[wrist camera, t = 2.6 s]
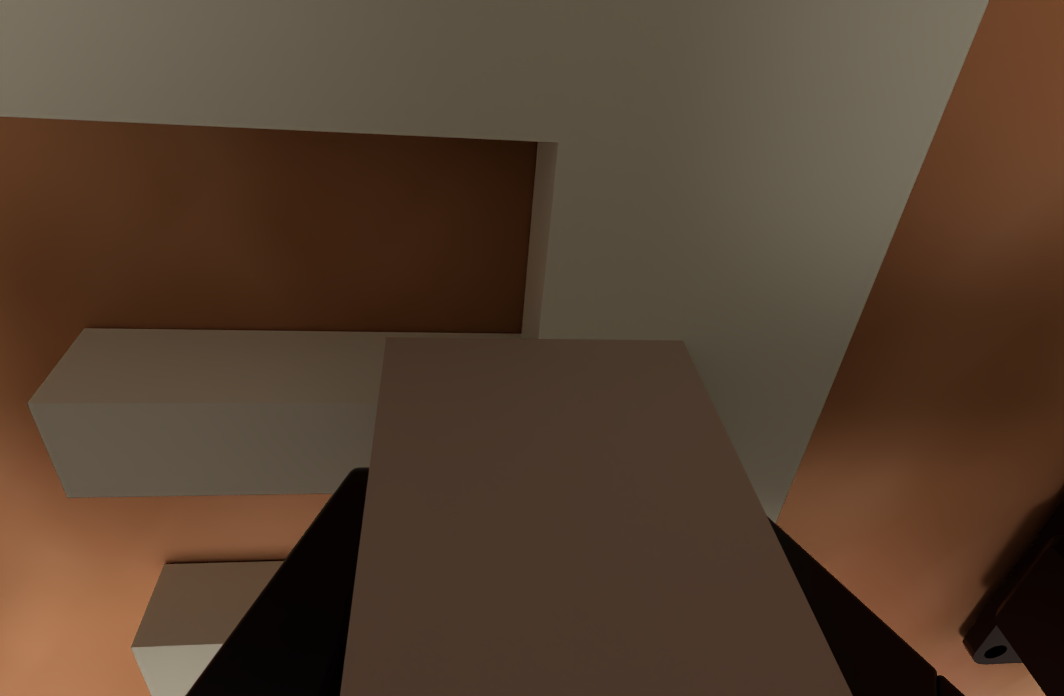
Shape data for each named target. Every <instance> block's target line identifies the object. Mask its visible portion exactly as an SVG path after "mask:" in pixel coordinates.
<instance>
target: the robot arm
mask: <svg viewBox="0 0 1064 696" xmlns="http://www.w3.org/2000/svg"><path fill="white" fill-rule="evenodd" d="M368 475H369V467H357V468H354V469H352V470H351V471H350V472H349V473H348V475H347V476H346V477H345V479H344V480H343V482H342V483H341V484H340V486H339V487H338V488H337V490H336V491H335V492H334V494H333V495H332V497H331V498H330V499H329V501H328V502H327V503H326V505H325V506H324V507H323V509H322V510H321V511H320V513H319V514H318V516H317V517H316V518H315V520H314V521H313V522H312V524H311V525H310V526H309V528H308V529H307V531H306V532H305V533H304V535H303V536H302V537H301V539H300V540H299V541H298V543H297V544H296V546H295V547H294V548H293V550H292V551H291V552H290V554H289V555H288V556H287V558H286V559H285V560H284V562H283V563H282V565H281V566H280V567H279V569H278V570H277V571H276V573H275V574H274V575H273V577H272V578H271V580H270V581H269V582H268V584H267V585H266V586H265V588H264V589H263V590H262V592H261V593H260V595H259V596H258V597H257V599H256V600H255V601H254V603H253V604H252V605H251V607H250V608H249V609H248V611H247V612H246V614H245V615H244V616H243V618H242V619H241V620H240V622H239V623H238V624H237V626H236V627H235V629H234V630H233V631H232V633H231V634H230V635H229V637H228V638H227V639H226V641H225V642H224V643H223V645H222V646H221V648H220V649H219V650H218V652H217V653H216V654H215V656H214V657H213V658H212V660H211V661H210V663H209V664H208V665H207V667H206V668H205V669H204V671H203V672H202V673H201V675H200V676H199V678H198V679H197V680H196V682H195V683H194V684H193V686H192V687H191V688H190V690H189V691H188V692H187V694H186V695H185V696H340V692H341V684H342V676H343V668H344V661H345V653H346V645H347V637H348V630H349V622H350V614H351V606H352V599H353V591H354V583H355V575H356V568H357V560H358V552H359V544H360V537H361V529H362V521H363V514H364V506H365V498H366V490H367V483H368ZM766 516H767V515H766ZM767 518H768V520H769V522H770V524H771V526H772V528H773V530H774V532H775V534H776V536H777V539H778V541H779V543H780V545H781V547H782V549H783V551H784V553H785V555H786V557H787V559H788V562H789V564H790V566H791V568H792V570H793V572H794V574H795V576H796V578H797V580H798V582H799V585H800V587H801V589H802V591H803V593H804V595H805V597H806V599H807V601H808V603H809V605H810V608H811V610H812V612H813V614H814V616H815V618H816V620H817V622H818V624H819V626H820V628H821V631H822V633H823V635H824V637H825V639H826V641H827V643H828V645H829V647H830V649H831V651H832V654H833V656H834V658H835V660H836V662H837V664H838V666H839V668H840V670H841V672H842V674H843V677H844V679H845V681H846V683H847V685H848V687H849V689H850V691H851V693H852V695H853V696H965V695H964V694H962V693H961V692H960V691H959V690H958V689H957V688H956V687H955V686H954V685H953V684H951V683H950V682H949V681H948V680H947V679H946V678H945V677H944V676H942V675H938V676H937V672H936V670H935V668H934V667H932V666H931V665H930V664H929V663H928V662H927V661H926V660H925V659H924V658H923V657H921V656H920V655H919V654H918V653H917V652H916V651H915V650H914V649H913V648H912V647H910V646H909V645H908V644H907V643H906V642H905V641H904V640H903V639H902V638H901V637H900V636H898V635H897V634H896V633H895V632H894V631H893V630H892V629H891V628H890V627H889V626H887V625H886V624H885V623H884V622H883V621H882V620H881V619H880V618H879V617H878V616H876V615H875V614H874V613H873V612H872V611H871V610H870V609H869V608H868V607H867V606H865V605H864V604H863V603H862V602H861V601H860V600H859V599H858V598H857V597H856V596H854V595H853V594H852V593H851V592H850V591H849V590H848V589H847V588H846V587H845V586H843V585H842V584H841V583H840V582H839V581H838V580H837V579H836V578H835V577H834V576H832V575H831V574H830V573H829V572H828V571H827V570H826V569H825V568H824V567H823V566H822V565H820V564H819V563H818V562H817V561H816V560H815V559H814V558H813V557H812V556H811V555H809V554H808V553H807V552H806V551H805V550H804V549H803V548H802V547H801V546H800V545H798V544H797V543H796V542H795V541H794V540H793V539H792V538H791V537H790V536H789V535H787V534H786V533H785V532H784V531H783V530H782V529H781V528H780V527H779V526H778V525H776V524H775V523H774V522H773V521H772V520H771V519H770V518H769V517H768V516H767ZM963 644H964V646H965V648H966V649H967V651H968V652H969V654H970V656H971V657H972V659H973V660H974V662H976V663H978V664H1004V663H1024V665H1025V666H1026V668H1027V669H1028V671H1029V672H1030V673H1031V675H1032V676H1033V678H1034V679H1035V680H1036V682H1037V683H1038V685H1039V686H1040V687H1041V689H1042V690H1043V692H1044V693H1045V695H1046V696H1064V502H1063V503H1062V505H1061V506H1060V508H1059V509H1058V510H1057V512H1056V513H1055V514H1054V516H1053V517H1052V518H1051V520H1050V521H1049V523H1048V524H1047V525H1046V527H1045V528H1044V529H1043V531H1042V532H1041V533H1040V535H1039V536H1038V537H1037V539H1036V540H1035V542H1034V543H1033V544H1032V546H1031V547H1030V548H1029V550H1028V551H1027V552H1026V554H1025V555H1024V557H1023V558H1022V559H1021V561H1020V562H1019V563H1018V565H1017V566H1016V567H1015V569H1014V570H1013V572H1012V573H1011V574H1010V576H1009V577H1008V578H1007V580H1006V581H1005V582H1004V584H1003V585H1002V586H1001V588H1000V589H999V591H998V592H997V593H996V595H995V596H994V597H993V599H992V600H991V601H990V603H989V604H988V606H987V607H986V608H985V610H984V611H983V612H982V614H981V615H980V616H979V618H978V619H977V621H976V622H975V623H974V625H973V626H972V627H971V629H970V630H969V631H968V633H967V634H966V635H965V637H964V639H963Z"/></svg>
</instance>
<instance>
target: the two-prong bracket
mask: <svg viewBox="0 0 1064 696" xmlns="http://www.w3.org/2000/svg"><path fill="white" fill-rule="evenodd" d="M988 2H989V0H0V116H1V117H22V118H43V119H65V120H86V121H108V122H129V123H150V124H172V125H193V126H215V127H236V128H257V129H279V130H300V131H322V132H343V133H365V134H386V135H407V136H429V137H450V138H472V139H493V140H514V141H536V142H538V146H537V157H536V169H535V181H534V192H533V204H532V216H531V228H530V239H529V251H528V263H527V275H526V286H525V298H524V310H523V322H522V333H521V334H504V333H424V332H343V331H263V330H183V329H102V328H84V329H83V331H82V332H81V333H80V334H79V336H78V337H77V338H76V340H75V341H74V342H73V344H72V345H71V346H70V348H69V349H68V350H67V351H66V353H65V354H64V355H63V357H62V358H61V359H60V361H59V362H58V363H57V365H56V366H55V367H54V368H53V370H52V371H51V372H50V374H49V375H48V376H47V378H46V379H45V380H44V381H43V383H42V384H41V385H40V387H39V388H38V389H37V391H36V392H35V393H34V395H33V396H32V397H31V398H30V400H29V401H28V402H27V404H28V407H29V409H30V411H31V414H32V416H33V418H34V421H35V423H36V425H37V428H38V430H39V433H40V435H41V437H42V440H43V442H44V444H45V447H46V449H47V451H48V454H49V456H50V458H51V461H52V463H53V465H54V468H55V470H56V472H57V475H58V477H59V480H60V482H61V484H62V487H63V489H64V491H65V494H66V496H67V498H83V497H148V496H213V495H278V494H334V492H335V491H336V490H337V488H338V487H339V486H340V484H341V483H342V482H343V480H344V479H345V477H346V476H347V475H348V473H349V472H350V471H351V470H352V469H354V468H357V467H369V475H368V483H367V490H366V498H365V506H364V514H363V521H362V529H361V537H360V544H359V552H358V560H357V568H356V575H355V583H354V591H353V599H352V606H351V614H350V622H349V630H348V637H347V645H346V653H345V661H344V668H343V676H342V684H341V692H340V696H853V695H852V693H851V691H850V689H849V687H848V685H847V683H846V681H845V679H844V677H843V674H842V672H841V670H840V668H839V666H838V664H837V662H836V660H835V658H834V656H833V654H832V651H831V649H830V647H829V645H828V643H827V641H826V639H825V637H824V635H823V633H822V631H821V628H820V626H819V624H818V622H817V620H816V618H815V616H814V614H813V612H812V610H811V608H810V605H809V603H808V601H807V599H806V597H805V595H804V593H803V591H802V589H801V587H800V585H799V582H798V580H797V578H796V576H795V574H794V572H793V570H792V568H791V566H790V564H789V562H788V559H787V557H786V555H785V553H784V551H783V549H782V547H781V545H780V543H779V541H778V539H777V536H776V534H775V532H774V530H773V528H772V526H771V524H770V522H769V520H768V518H767V516H768V517H769V518H770V519H771V520H772V521H773V522H774V523H775V524H776V521H777V519H778V516H779V514H780V511H781V509H782V506H783V504H784V502H785V499H786V497H787V494H788V492H789V489H790V487H791V484H792V482H793V480H794V477H795V475H796V472H797V470H798V467H799V465H800V462H801V460H802V458H803V455H804V453H805V450H806V448H807V445H808V443H809V440H810V438H811V435H812V433H813V431H814V428H815V426H816V423H817V421H818V418H819V416H820V413H821V411H822V409H823V406H824V404H825V401H826V399H827V396H828V394H829V391H830V389H831V387H832V384H833V382H834V379H835V377H836V374H837V372H838V369H839V367H840V364H841V362H842V360H843V357H844V355H845V352H846V350H847V347H848V345H849V342H850V340H851V338H852V335H853V333H854V330H855V328H856V325H857V323H858V320H859V318H860V316H861V313H862V311H863V308H864V306H865V303H866V301H867V298H868V296H869V293H870V291H871V289H872V286H873V284H874V281H875V279H876V276H877V274H878V271H879V269H880V267H881V264H882V262H883V259H884V257H885V254H886V252H887V249H888V247H889V244H890V242H891V240H892V237H893V235H894V232H895V230H896V227H897V225H898V222H899V220H900V218H901V215H902V213H903V210H904V208H905V205H906V203H907V200H908V198H909V196H910V193H911V191H912V188H913V186H914V183H915V181H916V178H917V176H918V173H919V171H920V169H921V166H922V164H923V161H924V159H925V156H926V154H927V151H928V149H929V147H930V144H931V142H932V139H933V137H934V134H935V132H936V129H937V127H938V125H939V122H940V120H941V117H942V115H943V112H944V110H945V107H946V105H947V102H948V100H949V98H950V95H951V93H952V90H953V88H954V85H955V83H956V80H957V78H958V76H959V73H960V71H961V68H962V66H963V63H964V61H965V58H966V56H967V54H968V51H969V49H970V46H971V44H972V41H973V39H974V36H975V34H976V31H977V29H978V27H979V24H980V22H981V19H982V17H983V14H984V12H985V9H986V7H987V5H988ZM766 515H767V516H766ZM283 562H284V561H265V562H228V563H191V564H164V566H163V569H162V571H161V574H160V576H159V579H158V581H157V584H156V586H155V589H154V591H153V594H152V596H151V599H150V601H149V604H148V606H147V609H146V611H145V614H144V616H143V619H142V621H141V624H140V626H139V629H138V631H137V634H136V636H135V639H134V641H133V644H132V646H131V649H132V651H133V653H134V656H135V658H136V660H137V663H138V665H139V668H140V670H141V672H142V675H143V677H144V679H145V682H146V684H147V686H148V689H149V691H150V693H151V696H185V695H186V694H187V692H188V691H189V690H190V688H191V687H192V686H193V684H194V683H195V682H196V680H197V679H198V678H199V676H200V675H201V673H202V672H203V671H204V669H205V668H206V667H207V665H208V664H209V663H210V661H211V660H212V658H213V657H214V656H215V654H216V653H217V652H218V650H219V649H220V648H221V646H222V645H223V643H224V642H225V641H226V639H227V638H228V637H229V635H230V634H231V633H232V631H233V630H234V629H235V627H236V626H237V624H238V623H239V622H240V620H241V619H242V618H243V616H244V615H245V614H246V612H247V611H248V609H249V608H250V607H251V605H252V604H253V603H254V601H255V600H256V599H257V597H258V596H259V595H260V593H261V592H262V590H263V589H264V588H265V586H266V585H267V584H268V582H269V581H270V580H271V578H272V577H273V575H274V574H275V573H276V571H277V570H278V569H279V567H280V566H281V565H282V563H283Z"/></svg>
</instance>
